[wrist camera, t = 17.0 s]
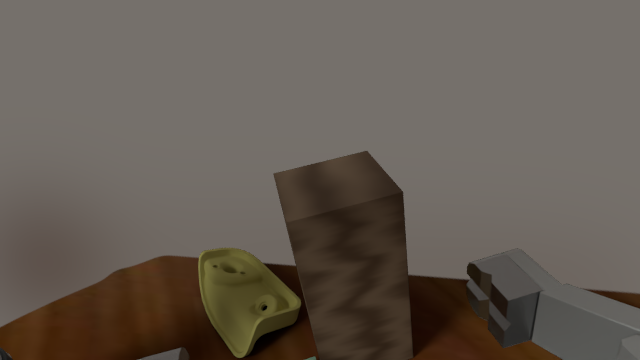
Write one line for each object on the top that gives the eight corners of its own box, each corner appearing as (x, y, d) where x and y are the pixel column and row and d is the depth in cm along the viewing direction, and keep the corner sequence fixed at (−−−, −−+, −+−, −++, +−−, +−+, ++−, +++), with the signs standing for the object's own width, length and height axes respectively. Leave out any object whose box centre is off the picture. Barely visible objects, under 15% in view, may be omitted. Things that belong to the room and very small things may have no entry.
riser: (326, 385, 49) (286, 222, 36) (309, 320, 58) (273, 173, 46) (413, 357, 50) (403, 191, 38) (382, 298, 60) (366, 150, 47)
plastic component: (307, 305, 58) (251, 322, 51) (296, 345, 60) (241, 366, 53) (243, 245, 72) (193, 251, 65) (236, 278, 74) (186, 288, 67)
